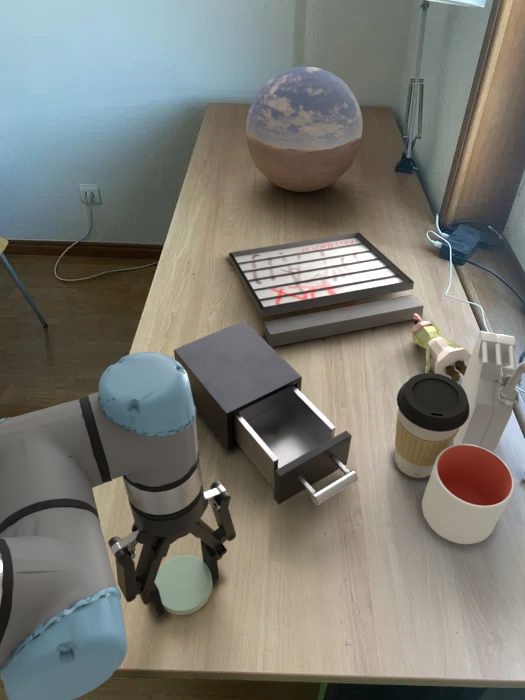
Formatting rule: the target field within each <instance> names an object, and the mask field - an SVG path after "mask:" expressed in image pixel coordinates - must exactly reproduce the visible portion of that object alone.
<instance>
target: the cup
mask: <svg viewBox="0 0 525 700" xmlns="http://www.w3.org/2000/svg"><path fill="white" fill-rule="evenodd" d="M514 491H515V480H514V475H513V473H512V471H511V469H510V468H509V466H508V465H507V464H506V462H505V461H504V460H503V459H502V458H501V457H500V456H498V455H497V454H496V453H495V452H494V453H493V452H491V451H489V450H487V449H485V448H482V447H479V446H476V445H471V444H457V445H453V444H452V445H450V446H449V447H448V448H446V449H444V450H443V451H442V452H441V453H440V454H439V455H438V457H437V458H436V461H435V464H434V467H433V470H432V472H431V475H429V479H428V482H427V485H426V487H425V490H424V493H423V495H422V499H421V510H422V514H423V518H424V519H425V521H426V522H427V524H428V525H429V527H430V528H431V529H432V530H433V531H434V533H436V534H437V535H438V536H440V537H441V538H443V539H445V540H447V541H449V542H452V543H454V544H458V545H474V544H478V543H480V542H482V541H484V540H486V539H487V538H489V536H490V535H491V534H492V533H493V531H494V530H495V528H496V526H497V524H498V522H499V520H500V518H501V516H502V514H503V513H504V511H505V510H506V507H507V505H508V504H509V501H510V499H511V498H512V496H513V493H514Z"/></svg>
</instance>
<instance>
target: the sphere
mask: <svg viewBox="0 0 525 700" xmlns="http://www.w3.org/2000/svg"><path fill="white" fill-rule="evenodd" d="M362 115H363V114H362V111H361V107H360V105H359V103H358V101H357V97H356V96H355V95H354V93H353V92H352V90H351V89H350V87H349V86H348V85H347V84H346V82H344V81H343V79H341V78H340V77H338V76H337V75H335V74H334V73H332V72H331V71H328V70H326V69H323V68H320V67H317V66H306V65H305V66H297V67H293V68H289V69H285V70H283V71H282V72H279V73H277V74H276V75H274V76H273V77H271V78H270V79H269V80H268V81H266V82H265V83H264V84H263V85H262V87H261V88H260V89H259V91H258V92H257V94H256V95H255V97H254V98H253V100H252V102H251V104H250V106H249V109H248V111H247V117H246V121H245V134H246V137H245V138H246V142H247V143H246V144H247V147H248V148H247V149H248V152H249V155H250V157H251V159H252V162H253V164H254V165H255V167H256V168H257V169H258V170H259V172H260V173H261V174H262V175H263V176H264V177H265V178H266V179H267V180H268V181H269V182H270V183H272V184H273V185H276V186H278V187H279V188H281V189H284V190H287V191H292V192H296V193H297V192H298V193H307V192H308V193H309V192H313V191H318V190H322V189H324V188H326V187H328V186H331V185H332V184H334V183H335V182H336V181H338V179H339V180H340V178H341V177H342V176H343V175H345V173H347V171H348V170H349V169H351V166H352V165H353V163H354V161H355V160H356V158H357V155H358V153H359V150H360V146H361V142H362V136H363V128H364V127H363V126H364V124H363V123H364V122H363V116H362Z"/></svg>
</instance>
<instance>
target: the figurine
mask: <svg viewBox="0 0 525 700" xmlns="http://www.w3.org/2000/svg"><path fill="white" fill-rule="evenodd" d="M412 320H413V321H412V322H413V324H414V326H413V327H412V331H409V333H410V334H411V339H412V341H413V342H415V343H417V344H418V347H419V348H423V349H425V362H426V363H425V364H426V366H425V367H424V373H430V366H431V358H432V360H433V361H434V362H435V365H434V373H436V374H441V375H444V376H447V377H449V378H451V379H453V380H454V381H456V382H457V383H458V382H459V381H460V379H461V376H462V377H464V374H465V371H466V369H467V366H468V363H469V360H470V357H471V354H470V350H469V349H467V348H466V347H462V346H460V345H458V344H457V343H455V342H454V341H451V340H449V339H446V338H444V337H441V330H440V329H439V328H438V326H437V325H436V324H435V322H434V320H433V319H431V320H430V321H431V322H430V321H429V320H424V321H423V320H422V317H421V318H420V316H419V315H418V314H416V313H415V314H414V317H413V319H412ZM439 335H440V336H439Z"/></svg>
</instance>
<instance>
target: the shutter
mask: <svg viewBox="0 0 525 700" xmlns="http://www.w3.org/2000/svg"><path fill="white" fill-rule="evenodd" d="M228 259H229V262H230V264H231V265H232V267H233V269H234V270H235V272H236V274H237V276H238V278H239V279H240V281H241V283H242V284H243V286H244V288H245V289H246V291H247V293H248V295H249V296H250V299H251V300H252V302H253V304H254V305H255V307H256V309H257V311H258V312H259V314H260V316H261V318H264V317H270V316H275V315H280V314H285V313H286V314H287V313H290V312H296V311H297V312H298V311H302V310H308V309H313V308H319V307H323V306H329V305H335V304H341V303H345V302H350V301H356V300H362V299H367V298H373V297H379V296H383V295H384V296H385V295H389V294H394V293H400V292H405V291H410V290H411V291H412V290H414V287H415V286H414V285H415V281H414V280H412V279H411V278H410V277H409V276H408V275H407V274H406V273H405V272H404V271H403V270H402V269H400V268H399V267H398V266H397V265H396V264H395V263H394V262H392V261H391V260H390V258H388V257H387V256H386V255H385V254H383V252H382V251H380V250H379V249H378V248H377V247H376V246H375V245H374V244H373V243H371V242H370V241H369V240H368V238H366V237H365V236H363V234H362V233H360V232H358V231H357V232H353V233H347V234H346V233H345V234H340V235H339V234H338V235H333V236H327V237H320V238H313V239H308V240H300V241H296V242H295V241H294V242H288V243H282V244H277V245H270V246H264V247H263V246H262V247H257V248H256V247H255V248H251V249H243V250H237V251H231V252H228ZM424 306H425V305H424V304H423V303H422V302H421V301H420V300H419V299H418V298H416V297H415V295H413V294H409V295H408V294H407V295H403V296H398V297H391V298H387V299H382V300H375V301H371V302H365V303H360V304H354V305H349V306H343V307H338V308H333V309H328V310H322V311H316V312H312V313H307V314H302V315H296V316H290V317H284V318H280V319H274V320H269V321H263V332H264V335H265V336H264V337H265V339H266V342H267V343H268V344H269V345H270V346H271V347H272V348H274V347H279V346H284V345H288V344H294V343H299V342H303V341H310V340H314V339H319V338H325V337H330V336H334V335H340V334H345V333H349V332H355V331H360V330H364V329H371V328H375V327H381V326H385V325H390V324H395V323H401V322H406V321H411V320H414V319H413V317H414V314H415V313H416V314H418V315H419V316H420V318H421V319H422V318H423V313H424Z"/></svg>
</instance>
